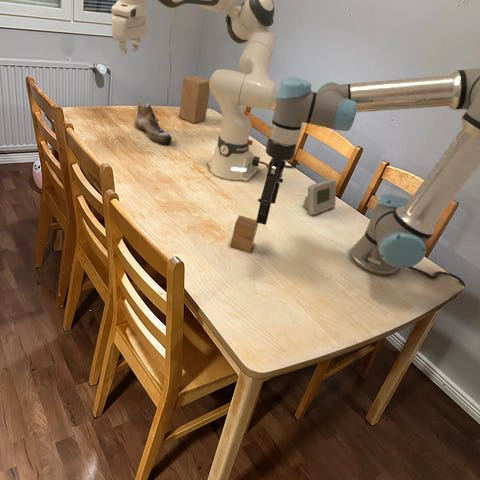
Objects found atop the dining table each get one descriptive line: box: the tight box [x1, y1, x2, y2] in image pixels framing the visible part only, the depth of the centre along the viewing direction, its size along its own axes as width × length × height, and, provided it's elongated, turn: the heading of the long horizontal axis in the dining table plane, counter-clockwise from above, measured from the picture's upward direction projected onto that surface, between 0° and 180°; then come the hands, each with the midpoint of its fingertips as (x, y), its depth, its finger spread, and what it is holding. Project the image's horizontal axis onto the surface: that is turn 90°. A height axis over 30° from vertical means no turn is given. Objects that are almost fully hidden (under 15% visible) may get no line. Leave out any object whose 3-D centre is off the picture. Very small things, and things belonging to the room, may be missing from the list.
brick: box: [230, 214, 259, 253], centre depth 134 cm, size 5×6×9 cm
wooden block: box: [178, 75, 211, 124], centre depth 221 cm, size 10×10×20 cm
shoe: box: [134, 102, 172, 145], centre depth 194 cm, size 25×11×12 cm, turn 30°
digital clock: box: [302, 178, 337, 216], centre depth 164 cm, size 16×9×11 cm, turn 123°
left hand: (129, 51), depth 155 cm, fingers open, 8 cm apart
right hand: (265, 212), depth 125 cm, fingers open, 13 cm apart
